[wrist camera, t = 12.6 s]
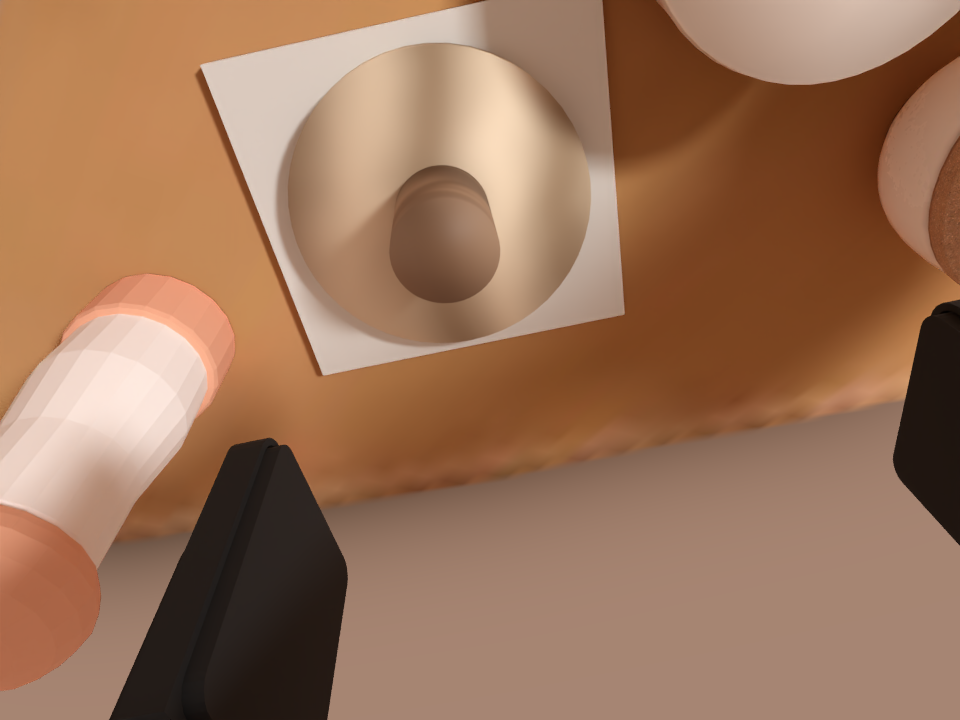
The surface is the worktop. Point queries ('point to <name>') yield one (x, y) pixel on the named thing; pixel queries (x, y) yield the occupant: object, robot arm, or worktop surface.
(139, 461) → the pepper shaker
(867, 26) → the mushroom
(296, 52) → the mat
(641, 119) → the worktop surface
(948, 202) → the lidded jar
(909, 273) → the worktop surface
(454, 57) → the lid
